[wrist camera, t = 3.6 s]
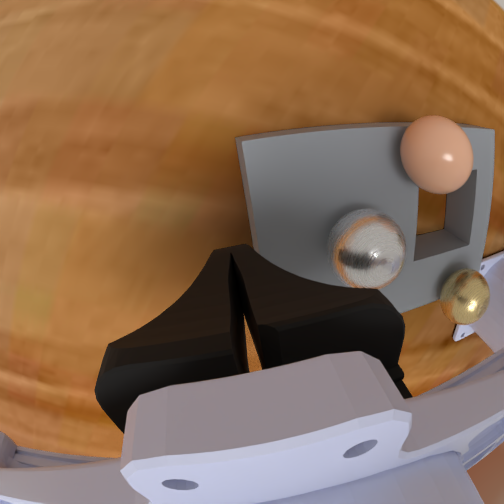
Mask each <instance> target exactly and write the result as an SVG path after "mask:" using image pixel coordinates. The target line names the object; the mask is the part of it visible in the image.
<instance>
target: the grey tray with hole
mask: <svg viewBox="0 0 504 504" xmlns="http://www.w3.org/2000/svg"><path fill="white" fill-rule="evenodd" d="M412 123H413V122H382V123H358V124H342V125H329V126H317V127H307V128H298V129H289V130H281V131H274V132H267V133H260V134H253V135H247V136H241V137H235V140H236V146H237V152H238V157H239V163H240V169H241V175H242V181H243V187H244V193H245V199H246V205H247V211H248V217H249V223H250V229H251V235H252V241H253V247H254V250H255V251H256V252H257V253H259V254H260V255H261V256H262V257H264V258H265V259H267V260H268V261H270V262H271V263H273V264H275V265H276V266H278V267H280V268H282V269H284V270H286V271H288V272H290V273H293V274H295V275H298V276H300V277H303V278H306V279H310V280H313V281H317V282H321V283H325V284H330V285H336V286H343V287H348V286H346V285H345V284H343V283H342V282H341V281H340V280H339V279H338V278H337V277H336V276H335V274H334V273H333V271H332V270H331V267H330V265H329V262H328V258H327V242H328V238H329V235H330V232H331V230H332V229H333V227H334V225H335V224H336V223H337V222H338V221H339V220H340V219H341V218H342V217H343V216H345V215H346V214H348V213H350V212H352V211H355V210H358V209H375V210H379V211H381V212H384V213H385V214H387V215H389V216H390V217H391V218H392V219H394V220H395V221H396V223H397V224H398V225H399V226H400V228H401V230H402V232H403V234H404V237H405V241H406V247H407V253H406V260H405V263H404V266H403V268H402V270H401V272H400V274H399V275H398V276H397V278H396V279H395V280H394V281H393V282H392V283H390V284H389V285H387V286H386V287H384V288H381V289H379V291H380V292H381V293H382V294H383V295H384V296H385V297H386V298H387V299H388V300H389V301H390V302H391V303H392V304H393V306H394V307H395V308H396V309H397V311H398V312H399V313H403V312H406V311H409V310H411V309H414V308H417V307H420V306H423V305H425V304H428V303H431V302H433V301H436V300H439V299H440V293H441V289H442V286H443V284H444V282H445V280H446V279H447V278H448V277H449V276H450V275H451V274H452V273H453V272H455V271H457V270H459V269H464V268H469V269H473V270H476V271H478V272H479V270H480V266H481V262H482V257H483V252H484V247H485V241H486V236H487V230H488V223H489V216H490V208H491V199H492V189H493V176H494V151H495V131H494V130H493V129H489V128H484V127H479V126H474V125H468V124H458V123H456V124H457V125H459V126H460V127H461V128H462V130H463V131H464V132H465V134H466V135H467V137H468V138H469V141H470V143H471V146H472V149H473V159H474V160H473V168H472V171H471V174H470V176H469V178H468V180H467V181H466V182H465V183H464V185H463V186H461V187H460V188H459V189H457V190H455V191H453V192H451V193H447V202H446V215H445V225H444V229H442V230H438V231H434V232H430V233H426V234H422V235H417V236H416V229H417V214H418V189H419V187H418V186H417V185H416V184H415V183H414V182H413V181H412V180H411V179H410V178H409V176H408V175H407V173H406V171H405V169H404V167H403V165H402V161H401V156H400V145H401V140H402V137H403V135H404V133H405V131H406V129H407V128H408V127H409V125H411V124H412Z"/></svg>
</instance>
